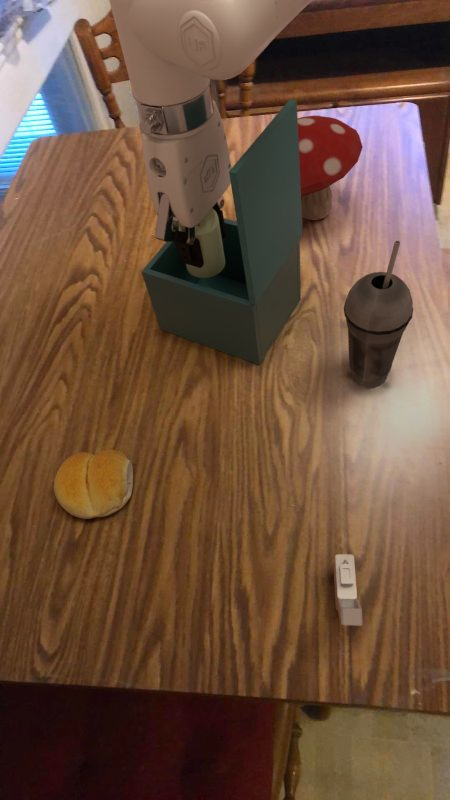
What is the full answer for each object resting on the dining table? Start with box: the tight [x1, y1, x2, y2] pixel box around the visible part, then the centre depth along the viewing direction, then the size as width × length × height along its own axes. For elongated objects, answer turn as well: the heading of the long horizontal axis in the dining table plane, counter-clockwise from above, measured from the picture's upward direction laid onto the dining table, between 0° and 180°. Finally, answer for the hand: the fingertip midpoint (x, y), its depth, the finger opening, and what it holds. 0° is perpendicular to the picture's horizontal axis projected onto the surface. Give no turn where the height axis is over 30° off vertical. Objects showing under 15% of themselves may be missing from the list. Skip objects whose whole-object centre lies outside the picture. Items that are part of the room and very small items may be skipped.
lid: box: [229, 98, 303, 305], centre depth 60 cm, size 17×13×1 cm
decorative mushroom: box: [297, 115, 363, 221], centre depth 83 cm, size 16×16×15 cm
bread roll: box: [53, 448, 134, 520], centre depth 64 cm, size 8×9×4 cm
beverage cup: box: [343, 240, 414, 389], centre depth 62 cm, size 7×7×20 cm
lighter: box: [333, 553, 363, 626], centre depth 52 cm, size 7×2×8 cm, turn 177°
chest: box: [141, 217, 302, 366], centre depth 74 cm, size 16×13×11 cm
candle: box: [179, 208, 225, 278], centre depth 69 cm, size 5×5×8 cm
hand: (203, 248), depth 70 cm, fingers closed on candle, 4 cm apart
